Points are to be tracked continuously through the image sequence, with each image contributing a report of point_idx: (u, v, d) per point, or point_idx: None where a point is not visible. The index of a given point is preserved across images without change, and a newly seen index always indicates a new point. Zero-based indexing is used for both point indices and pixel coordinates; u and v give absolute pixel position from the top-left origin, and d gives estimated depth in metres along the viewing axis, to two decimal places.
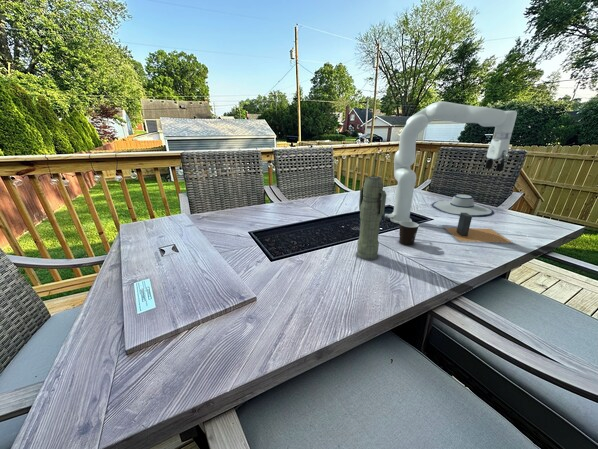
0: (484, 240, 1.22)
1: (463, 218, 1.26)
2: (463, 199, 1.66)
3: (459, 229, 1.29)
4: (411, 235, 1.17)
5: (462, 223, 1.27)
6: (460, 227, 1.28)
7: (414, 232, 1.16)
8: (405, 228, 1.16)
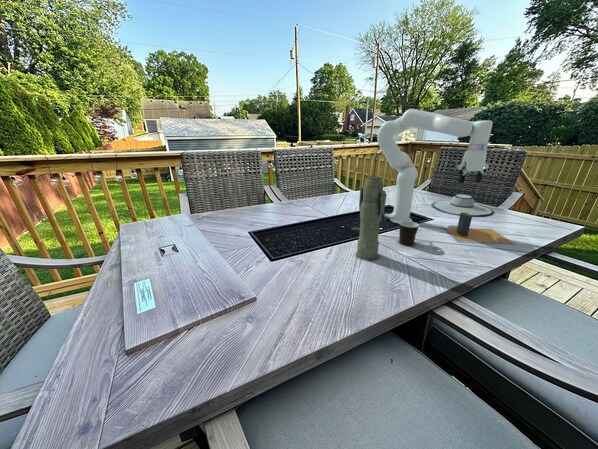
0: (484, 240, 1.22)
1: (463, 218, 1.26)
2: (463, 199, 1.66)
3: (459, 229, 1.29)
4: (411, 235, 1.17)
5: (462, 223, 1.27)
6: (460, 227, 1.28)
7: (414, 232, 1.16)
8: (405, 228, 1.16)
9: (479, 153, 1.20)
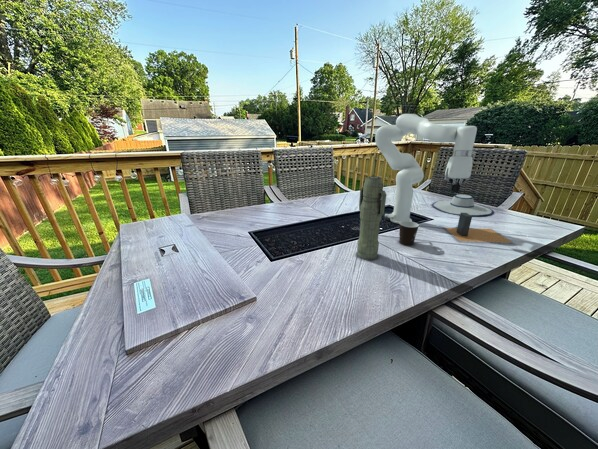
0: (484, 240, 1.22)
1: (463, 218, 1.26)
2: (463, 199, 1.66)
3: (459, 229, 1.29)
4: (411, 235, 1.17)
5: (462, 223, 1.27)
6: (460, 227, 1.28)
7: (414, 232, 1.16)
8: (405, 228, 1.16)
9: (461, 160, 1.15)
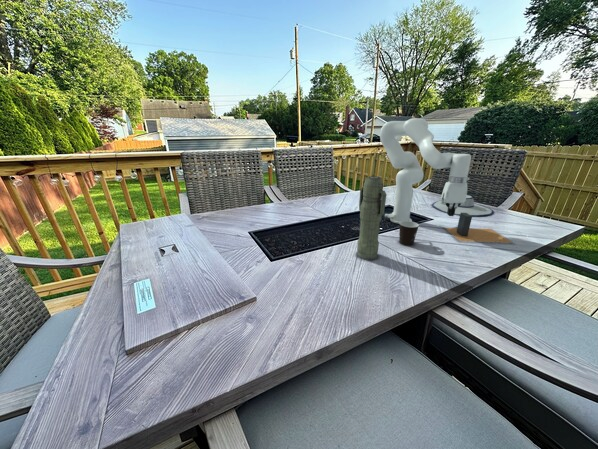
0: (484, 240, 1.22)
1: (463, 218, 1.26)
2: None
3: (459, 229, 1.29)
4: (411, 235, 1.17)
5: (462, 223, 1.27)
6: (460, 227, 1.28)
7: (414, 232, 1.16)
8: (405, 228, 1.16)
9: (457, 186, 1.19)
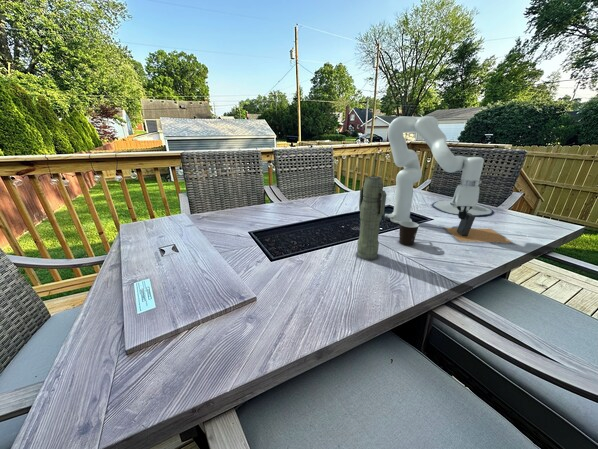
0: (484, 240, 1.22)
1: (466, 217, 1.25)
2: None
3: (460, 228, 1.29)
4: (411, 235, 1.17)
5: (464, 223, 1.26)
6: (461, 226, 1.28)
7: (414, 232, 1.16)
8: (405, 228, 1.16)
9: (469, 189, 1.19)
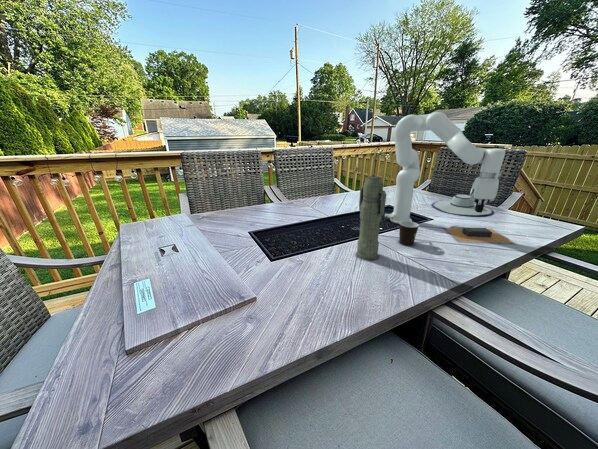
0: (484, 240, 1.22)
1: (486, 230, 1.26)
2: (463, 199, 1.66)
3: (471, 229, 1.28)
4: (411, 235, 1.17)
5: (480, 230, 1.27)
6: (474, 229, 1.28)
7: (414, 232, 1.16)
8: (405, 228, 1.16)
9: (488, 181, 1.17)
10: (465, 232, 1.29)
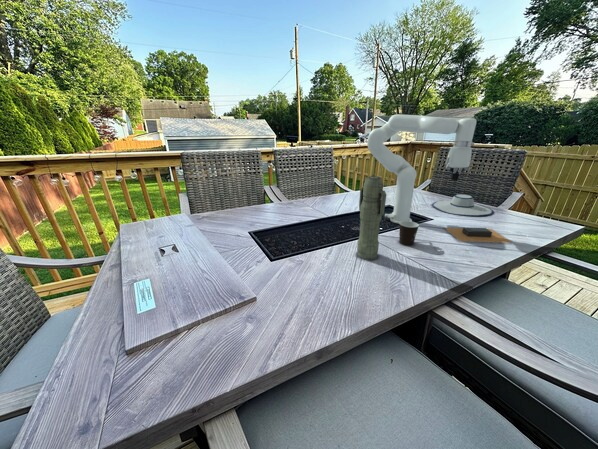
0: (484, 240, 1.22)
1: (486, 230, 1.26)
2: (463, 199, 1.66)
3: (471, 229, 1.28)
4: (411, 235, 1.17)
5: (480, 230, 1.27)
6: (474, 229, 1.28)
7: (414, 232, 1.16)
8: (405, 228, 1.16)
9: (461, 150, 1.24)
10: (465, 232, 1.29)
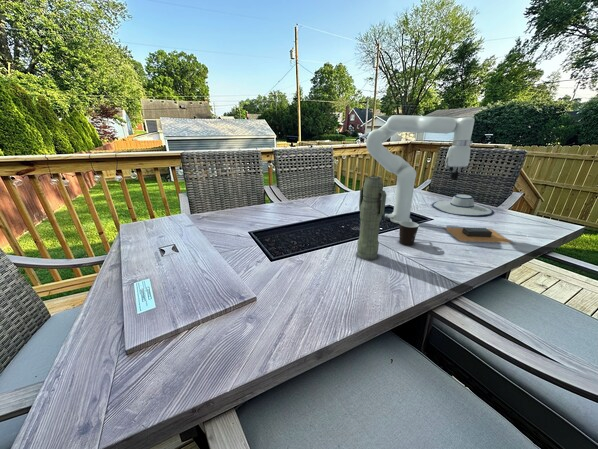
0: (484, 240, 1.22)
1: (486, 230, 1.26)
2: (463, 199, 1.66)
3: (471, 229, 1.28)
4: (411, 235, 1.17)
5: (480, 230, 1.27)
6: (474, 229, 1.28)
7: (414, 232, 1.16)
8: (405, 228, 1.16)
9: (460, 149, 1.24)
10: (465, 232, 1.29)
